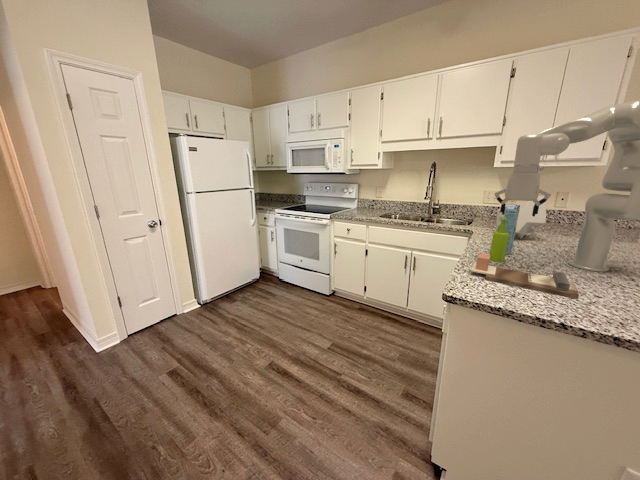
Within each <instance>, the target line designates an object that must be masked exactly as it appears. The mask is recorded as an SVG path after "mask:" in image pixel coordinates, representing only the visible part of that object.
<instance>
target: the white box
mask: <svg viewBox="0 0 640 480" xmlns="http://www.w3.org/2000/svg"><path fill="white" fill-rule="evenodd" d="M544 197H545V196H544V195H541V196H540V195H538V198H537V200H538V201H540V200H542V199H543V198H544ZM547 201H548V200H547ZM547 201H546V202H544V203H543V204H541V205H540V206H539V209H538V214H535V217H534V216H532V213H533V208H534V205H535V203H534V202H533V201H524V202H523V204H522V205H520V209H519V215H518V220H517V225H516V231H515V236H514V237H519V240H523V239H526V238H527V237H529V235H531V234H533V233H535V232H536V231H535V230H534V229H533V227H537V226H541V225H545V224H546V223H547V204H548V203H547ZM508 206H509V205H507V204H506V206H505V209H506V208H507V207H508ZM500 211H501V207H500V208H499V209H497V211H496V222H495V223H496V225H495V230H496V231H497V230H498V225H500V224H501V221H502V219H500V218H499V217H504V215H505V213H504V215H502V212H500Z"/></svg>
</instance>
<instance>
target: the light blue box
mask: <svg viewBox="0 0 640 480" xmlns="http://www.w3.org/2000/svg"><path fill="white" fill-rule="evenodd" d="M507 206H508V207H507V208H506V209H505V215H504V217H505V218H507V219H508V220H506V224H505V225H507V231H506V233H509V238H508V243H507V248H506V253H505V256H509V255H510V253H511V250H512V249H513V245H514V240H515V237H516V236H515V231H516V225H517V220H518V215H519V209H520V207H521V205H520V204H519V205H517V204H508V205H507Z"/></svg>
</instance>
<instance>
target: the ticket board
mask: <svg viewBox="0 0 640 480" xmlns="http://www.w3.org/2000/svg"><path fill="white" fill-rule="evenodd" d="M495 267H496V272H495V276H492V275H487V274H485V281H490V282H493V283H494V282H495V283H499V284H503V285H507V286H508V285H509V286H514V287H518V288H522V289H526V290H528V289H529V290H531V291H537V292H541V293H547V294H551V295H552V294H553V295H555V296H557V295H558V296H561V297H566V298H571V299H576V300H578V299H579V296H580V294H579V289H578V288H577V285H576V284H575V282H574V280H571V279H569V278H568V277H567V275H566V273H565V272H559V271H553V274H552V276H549V275H548V276H547V275H542V274H537V273H531V272H528V271H527V272H525V271H520V270H515V269H510V268H509V269H508V268H504V267H498V266H495Z"/></svg>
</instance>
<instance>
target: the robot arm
mask: <svg viewBox="0 0 640 480" xmlns="http://www.w3.org/2000/svg"><path fill="white" fill-rule="evenodd" d="M604 133H607V135H608V138H609V140H610V142H611V144H612V146H613V151H614V154H613V157H612V160H611V162H610V163H609V165H608V167H607V170H606V172H605V174H604V176H603V178H602V181H601V186H602V188H603V189H604V190H608V191H614V192H626V193H627V192H629V194H620V193H608V192H606V193H605V192H602V193H595V194H594V195H591V196H590V197H588V199H587V200H586V202H585V206H584V220H583V224H582V228H581V233H580V236H579V240H578V244H577V246H576V251H575V253H574V254H575V255H574V258H573V259H568V264H569V266H571V267H574V268H578V269H581V270H585V271H590V272H598V273H599V272H600V273H601V272H609V269H610V268H611V267H612V268H618V269H622V268H623V263H621V262H619V263H618V262H616V261H611V260H609V259H608V255H609V252H610V249H611V246H612V242H613V239H614V236H615V234H616V224H615V221H614V220H620V221H625V222H626V221H627V222H635V221H638V220H640V99H637V100H631V101H626V102H621V103H617V104H612V105H608V106H606V107H603V108H600V109H598V110H595V111H594V112H591V113H589V114H586V115H585V116H582V117H579V118H578V119H574V120H572V121H568V122H565V123H563V124H562V123H561V124H560V125H556V126H554V127H551V128H548V129H545V130H542V131H540V132H538V133H535V134H526V135H522V136H520V137H519V138H518V139H517V143H516V144H517V145H516V150H515V156H514V157H515V158H514V161H513V162H514V164H513V168H512V173H510V174H509V176H508V178H507V179H508V180H507V183H506V188H505V189H501V190H499V191H496V192H494V196H495V199H496V200H497V202H498V203H499V204H500V208H501V211H500V212H502V215H504V213H505V206H506V205H507V204H506V203H507V202H508V201H520V202H521V201H522V202H523V201H524V202H525V201H533V202H534V203H535V205H534V208H533V213H532V216H534V217H535V214H538V209H539V206H540V205H541V204H543V203H544V202H546V201H548V200H549V198H551V196H552V194H551V193H549V192H547V191H545V190H543V189H541V187H540V185H541V173H539V172H541V171H544V168H545V167H544V166H543V165H542V166H541V165H540V162H541V156H555V155H559V154H562V153H563V152H565V151H566V150H567V149H568V147H569V146H570V145H571V144H576V143H581V142H585V141H589V140H590V139H593V138H595V137H597V136H600V135H602V134H604ZM502 194H505V195H504V197H505V198H504V199H503V198H501V195H502ZM540 194H541V196H545V197H544V198H543V199H542V200H540V201H538V200H537V198H538V196H539V195H540Z"/></svg>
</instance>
